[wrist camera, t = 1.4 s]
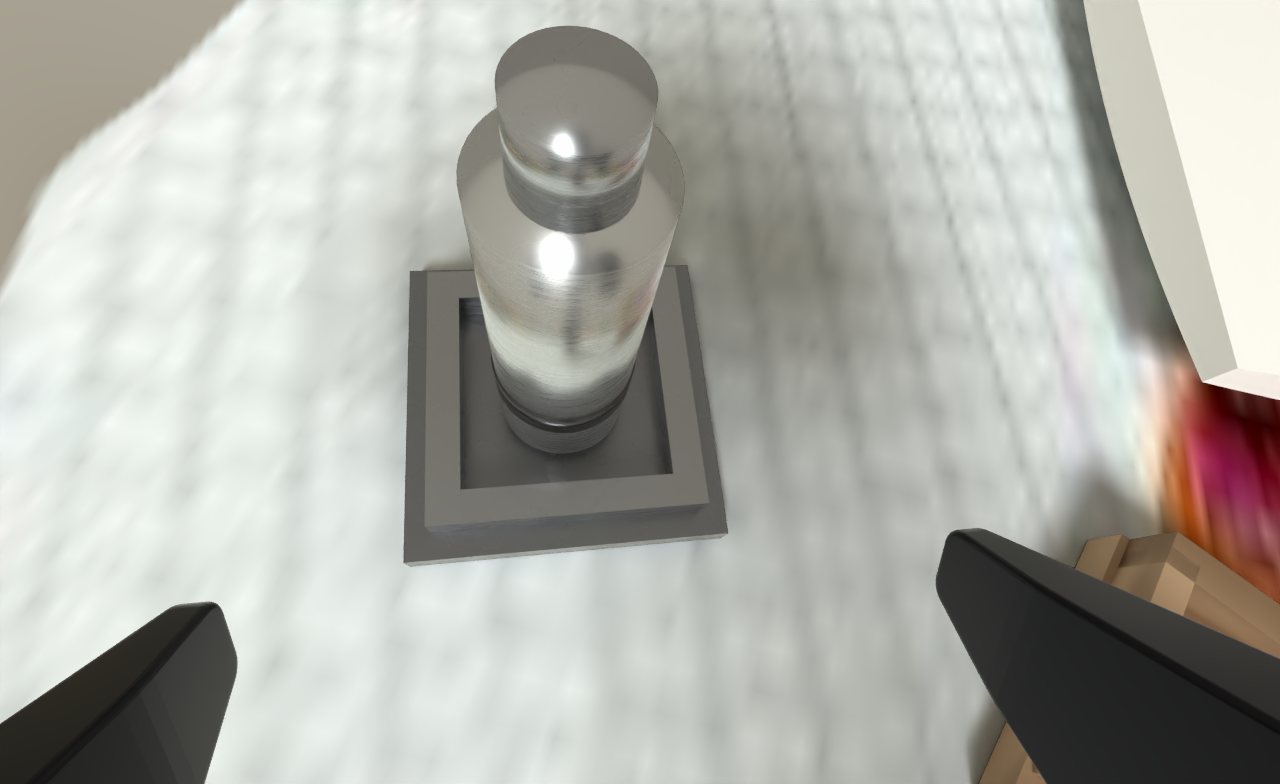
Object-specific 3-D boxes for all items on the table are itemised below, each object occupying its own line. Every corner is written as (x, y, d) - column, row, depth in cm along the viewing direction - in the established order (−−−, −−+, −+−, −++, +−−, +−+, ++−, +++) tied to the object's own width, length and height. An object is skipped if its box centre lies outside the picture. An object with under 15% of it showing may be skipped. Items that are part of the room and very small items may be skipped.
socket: (720, 537, 21) (738, 527, 19) (410, 566, 20) (394, 558, 18) (682, 279, 25) (694, 247, 23) (415, 285, 23) (402, 251, 21)
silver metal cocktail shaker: (586, 477, 20) (637, 249, 8) (476, 418, 21) (373, 113, 9) (643, 375, 22) (755, 60, 10) (539, 321, 22) (527, -50, 10)
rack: (1268, 1038, 18) (1412, 1118, 15) (971, 798, 20) (1050, 827, 16) (1341, 726, 22) (1469, 740, 19) (1087, 540, 23) (1169, 525, 20)
